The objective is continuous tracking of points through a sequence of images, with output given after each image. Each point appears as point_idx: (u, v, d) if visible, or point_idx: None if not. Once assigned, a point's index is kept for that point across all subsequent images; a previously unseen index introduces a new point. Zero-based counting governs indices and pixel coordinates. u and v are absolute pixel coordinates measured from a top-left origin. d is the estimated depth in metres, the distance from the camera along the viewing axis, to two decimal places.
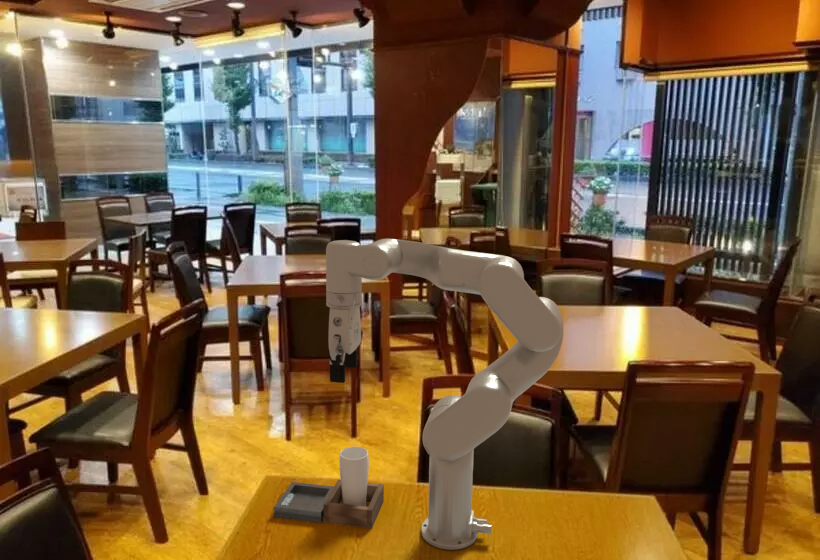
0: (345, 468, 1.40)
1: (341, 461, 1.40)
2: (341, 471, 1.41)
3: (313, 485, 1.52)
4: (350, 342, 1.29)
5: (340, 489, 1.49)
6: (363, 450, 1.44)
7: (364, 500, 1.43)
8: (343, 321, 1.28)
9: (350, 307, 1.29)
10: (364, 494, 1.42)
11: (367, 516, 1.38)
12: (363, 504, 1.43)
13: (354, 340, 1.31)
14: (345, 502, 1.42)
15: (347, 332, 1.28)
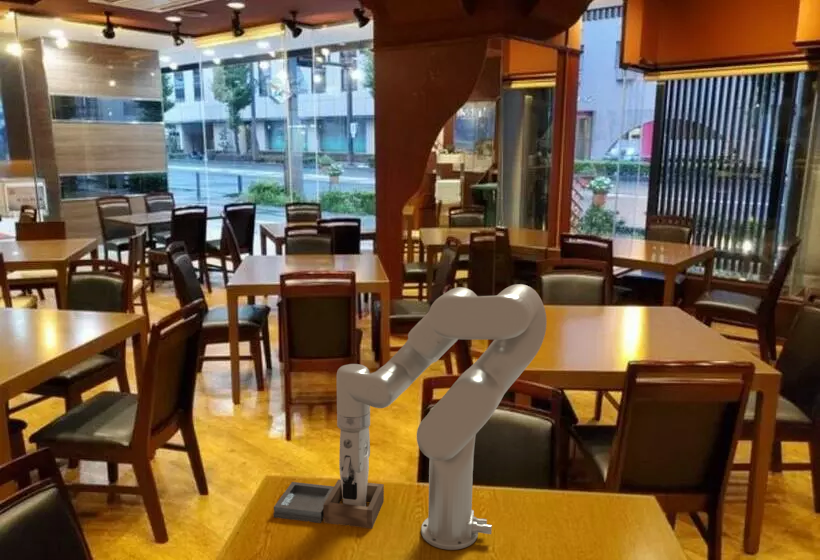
0: None
1: None
2: (341, 471, 1.41)
3: (313, 485, 1.52)
4: (360, 462, 1.38)
5: (340, 489, 1.49)
6: None
7: (364, 500, 1.43)
8: (353, 443, 1.36)
9: (359, 429, 1.37)
10: (364, 494, 1.42)
11: (367, 516, 1.38)
12: (363, 504, 1.43)
13: (363, 458, 1.40)
14: (345, 502, 1.42)
15: (357, 453, 1.37)
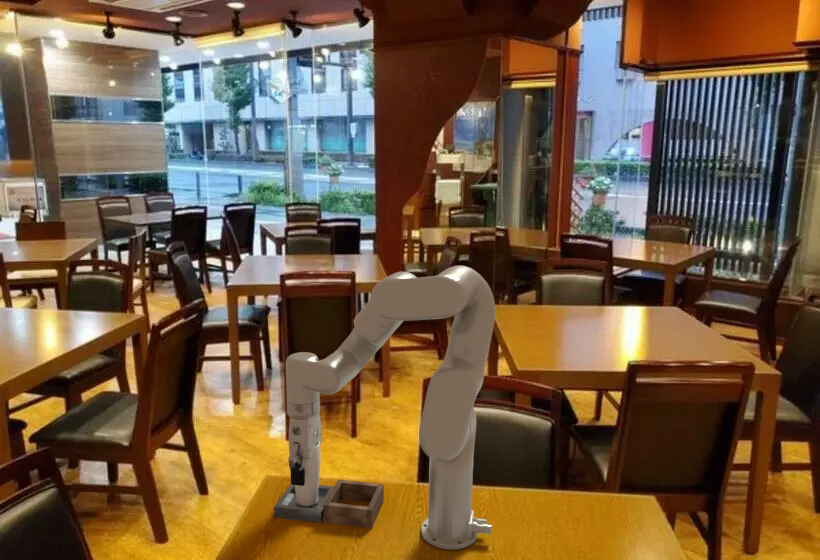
0: None
1: None
2: None
3: None
4: (308, 449, 1.39)
5: (340, 489, 1.49)
6: None
7: (316, 490, 1.45)
8: (301, 430, 1.38)
9: (308, 416, 1.39)
10: (316, 484, 1.45)
11: (367, 516, 1.38)
12: (315, 494, 1.45)
13: (313, 445, 1.42)
14: (297, 492, 1.45)
15: (305, 440, 1.38)
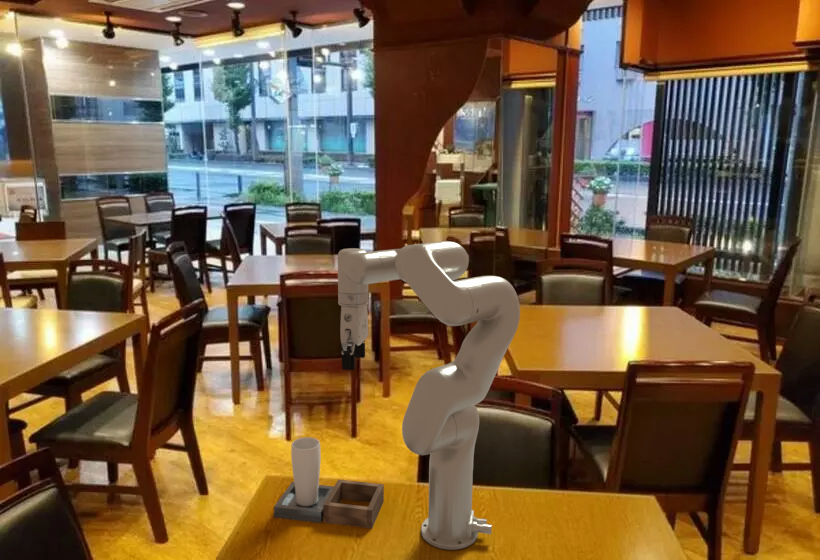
0: (296, 458, 1.42)
1: (292, 451, 1.43)
2: (293, 461, 1.43)
3: None
4: (359, 335, 1.51)
5: (340, 489, 1.49)
6: (315, 440, 1.47)
7: (316, 490, 1.45)
8: (353, 317, 1.50)
9: (358, 305, 1.51)
10: (316, 484, 1.45)
11: (367, 516, 1.38)
12: (315, 494, 1.45)
13: (362, 333, 1.54)
14: (297, 492, 1.45)
15: (356, 326, 1.50)
